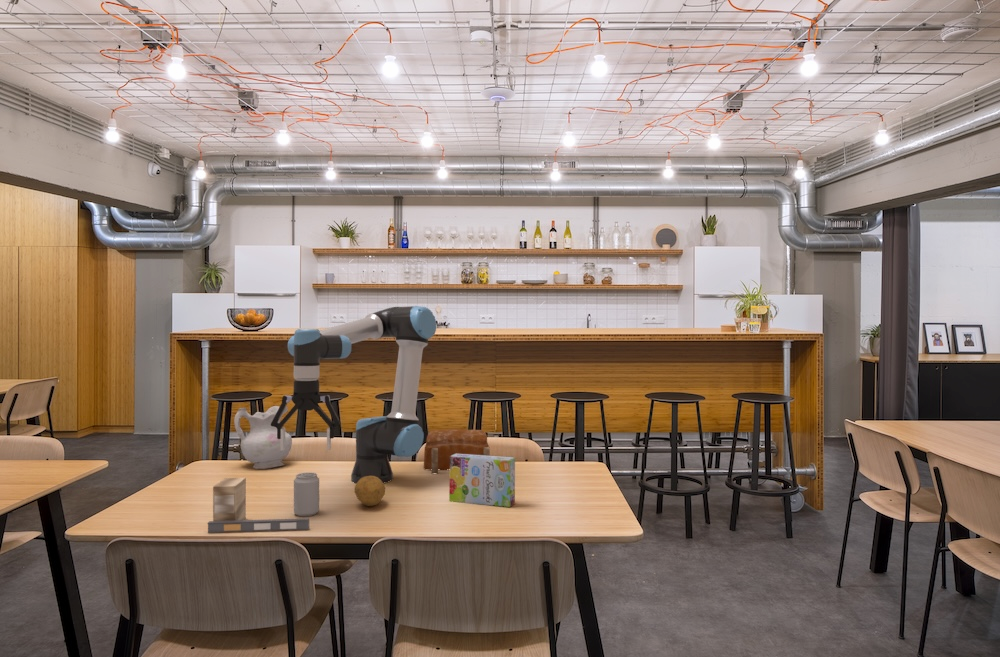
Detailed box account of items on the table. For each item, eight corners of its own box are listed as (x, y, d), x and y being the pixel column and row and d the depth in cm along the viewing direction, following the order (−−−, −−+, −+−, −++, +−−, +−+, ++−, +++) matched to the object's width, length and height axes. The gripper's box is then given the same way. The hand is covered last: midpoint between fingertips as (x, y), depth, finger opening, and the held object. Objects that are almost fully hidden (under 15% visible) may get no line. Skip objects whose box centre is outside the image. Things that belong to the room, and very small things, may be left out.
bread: (489, 472, 249) (489, 432, 249) (422, 472, 249) (422, 432, 249) (489, 464, 263) (489, 426, 263) (425, 464, 263) (426, 426, 262)
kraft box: (245, 518, 189) (245, 477, 189) (235, 529, 179) (235, 486, 178) (224, 518, 188) (224, 478, 188) (212, 529, 178) (212, 486, 178)
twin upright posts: (485, 461, 268) (485, 437, 268) (489, 474, 245) (490, 448, 245) (431, 462, 265) (431, 438, 265) (431, 475, 243) (431, 449, 243)
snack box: (515, 503, 205) (515, 456, 205) (510, 508, 200) (510, 460, 200) (455, 497, 212) (455, 452, 212) (448, 501, 207) (448, 455, 207)
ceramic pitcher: (256, 476, 241) (256, 410, 240) (224, 470, 251) (224, 407, 251) (301, 465, 259) (301, 404, 259) (270, 460, 269) (270, 401, 269)
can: (311, 518, 189) (311, 477, 189) (288, 516, 191) (288, 476, 190) (323, 510, 196) (323, 472, 196) (301, 509, 198) (301, 470, 198)
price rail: (309, 528, 180) (309, 518, 180) (308, 530, 178) (308, 520, 178) (209, 531, 177) (209, 521, 177) (207, 533, 175) (207, 523, 175)
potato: (348, 511, 196) (348, 481, 196) (361, 499, 209) (361, 471, 209) (378, 512, 195) (379, 481, 195) (389, 500, 209) (389, 471, 209)
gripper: (350, 378, 198) (349, 446, 198) (267, 378, 196) (266, 447, 196) (346, 380, 191) (346, 451, 191) (260, 380, 188) (260, 452, 188)
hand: (305, 449), depth 193 cm, fingers open, 13 cm apart
